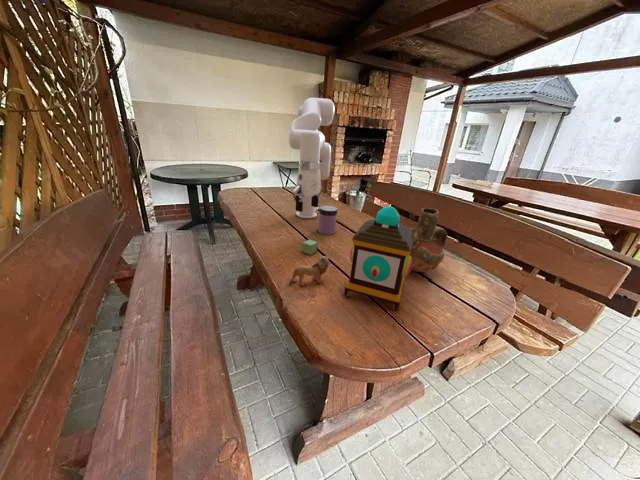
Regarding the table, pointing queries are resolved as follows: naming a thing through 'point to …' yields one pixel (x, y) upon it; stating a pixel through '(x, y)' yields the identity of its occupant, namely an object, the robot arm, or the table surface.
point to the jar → (327, 224)
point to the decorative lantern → (381, 257)
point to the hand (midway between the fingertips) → (307, 208)
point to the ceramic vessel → (427, 242)
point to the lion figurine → (311, 270)
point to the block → (309, 247)
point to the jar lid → (328, 210)
